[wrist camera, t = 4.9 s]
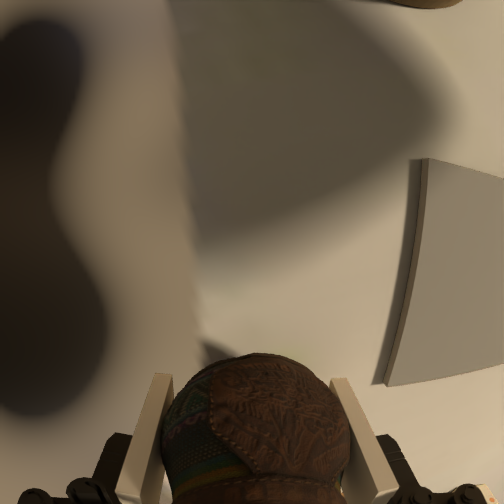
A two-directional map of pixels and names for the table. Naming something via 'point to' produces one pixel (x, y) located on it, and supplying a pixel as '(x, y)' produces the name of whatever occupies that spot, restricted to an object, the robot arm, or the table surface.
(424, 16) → the table surface
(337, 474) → the mate gourd
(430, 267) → the felt pad
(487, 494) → the small box
